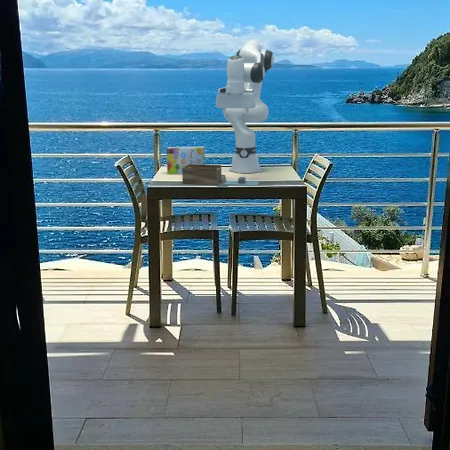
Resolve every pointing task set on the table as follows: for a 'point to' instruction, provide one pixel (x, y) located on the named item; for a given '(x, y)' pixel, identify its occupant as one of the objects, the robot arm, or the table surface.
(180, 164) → the snack box
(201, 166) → the walnut box
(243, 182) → the lid
